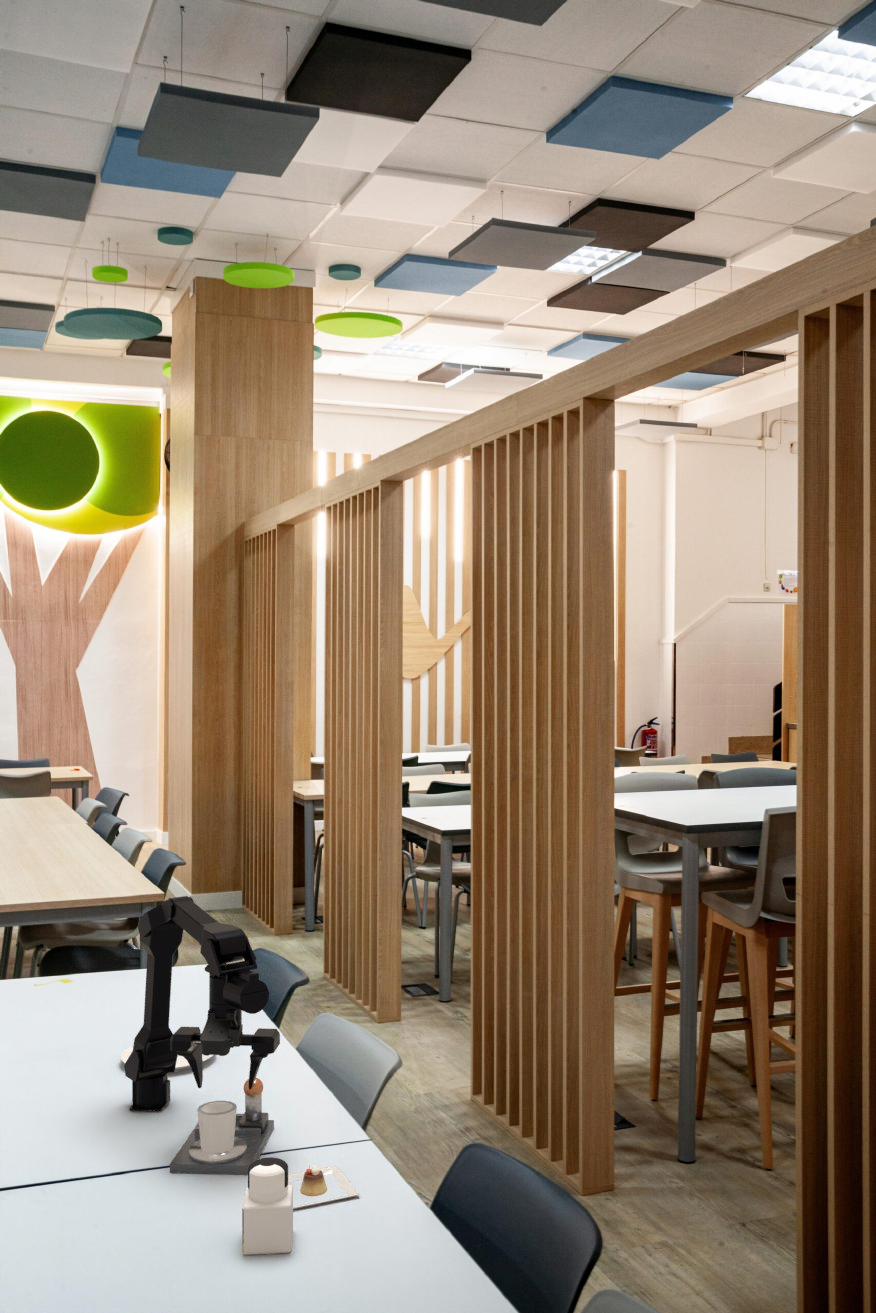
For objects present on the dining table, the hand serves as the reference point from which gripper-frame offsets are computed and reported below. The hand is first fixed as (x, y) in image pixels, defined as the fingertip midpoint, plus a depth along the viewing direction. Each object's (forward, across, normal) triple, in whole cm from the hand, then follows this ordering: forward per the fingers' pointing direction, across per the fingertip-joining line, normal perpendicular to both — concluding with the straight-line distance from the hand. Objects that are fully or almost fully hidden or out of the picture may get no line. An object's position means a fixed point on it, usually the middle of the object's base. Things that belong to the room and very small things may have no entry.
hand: (225, 1087), depth 203 cm
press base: (+12, -1, +2) cm, 12 cm away
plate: (+13, -25, +48) cm, 55 cm away
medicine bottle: (+12, +15, -31) cm, 36 cm away
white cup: (+10, -1, -2) cm, 10 cm away
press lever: (+10, +3, +8) cm, 13 cm away
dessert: (+12, +18, -13) cm, 26 cm away
